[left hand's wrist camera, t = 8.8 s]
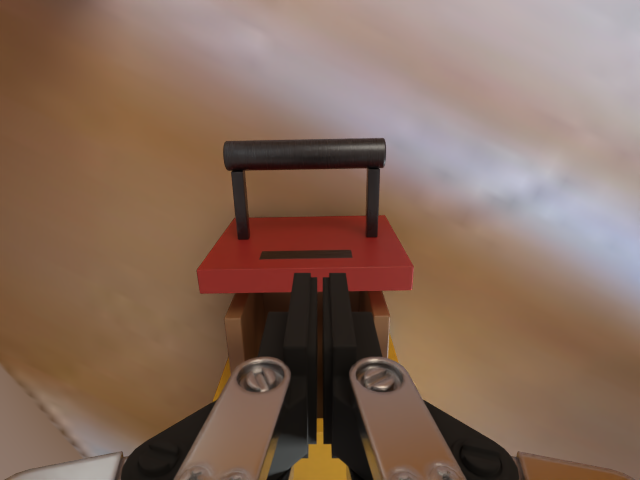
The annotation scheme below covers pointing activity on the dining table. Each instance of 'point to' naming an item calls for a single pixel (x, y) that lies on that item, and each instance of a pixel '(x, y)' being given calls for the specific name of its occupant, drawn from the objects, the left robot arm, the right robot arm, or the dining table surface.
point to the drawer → (303, 246)
